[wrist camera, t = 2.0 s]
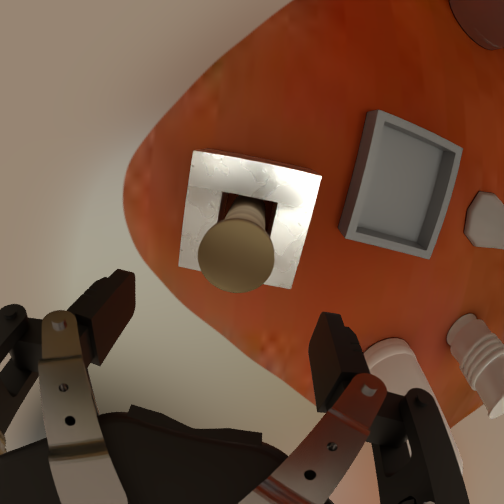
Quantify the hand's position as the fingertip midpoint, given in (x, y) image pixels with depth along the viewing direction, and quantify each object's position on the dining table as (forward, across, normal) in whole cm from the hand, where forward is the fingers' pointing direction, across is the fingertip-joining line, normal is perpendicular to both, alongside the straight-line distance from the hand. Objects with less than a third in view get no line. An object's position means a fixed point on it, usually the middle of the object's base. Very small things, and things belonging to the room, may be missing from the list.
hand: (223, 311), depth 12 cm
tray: (+17, -14, -6) cm, 23 cm away
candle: (+17, -34, +10) cm, 39 cm away
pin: (+17, 0, 0) cm, 17 cm away
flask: (+17, -28, -6) cm, 33 cm away
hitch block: (+17, 0, 0) cm, 17 cm away
